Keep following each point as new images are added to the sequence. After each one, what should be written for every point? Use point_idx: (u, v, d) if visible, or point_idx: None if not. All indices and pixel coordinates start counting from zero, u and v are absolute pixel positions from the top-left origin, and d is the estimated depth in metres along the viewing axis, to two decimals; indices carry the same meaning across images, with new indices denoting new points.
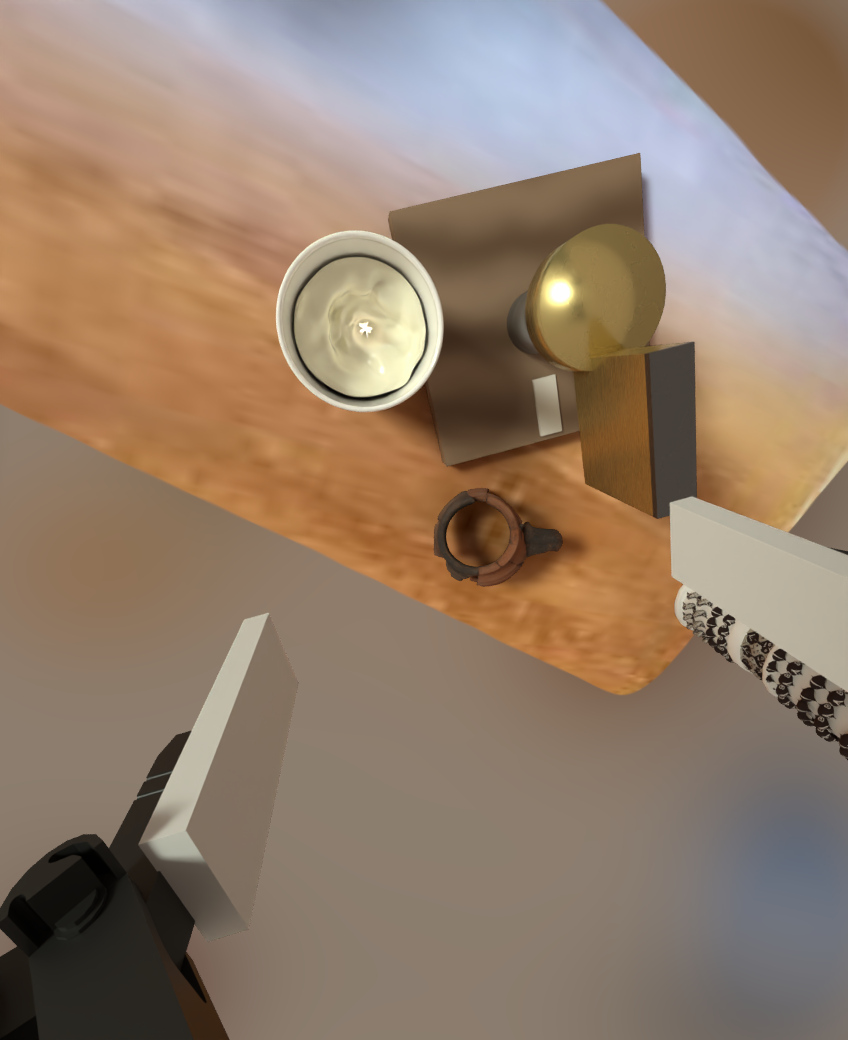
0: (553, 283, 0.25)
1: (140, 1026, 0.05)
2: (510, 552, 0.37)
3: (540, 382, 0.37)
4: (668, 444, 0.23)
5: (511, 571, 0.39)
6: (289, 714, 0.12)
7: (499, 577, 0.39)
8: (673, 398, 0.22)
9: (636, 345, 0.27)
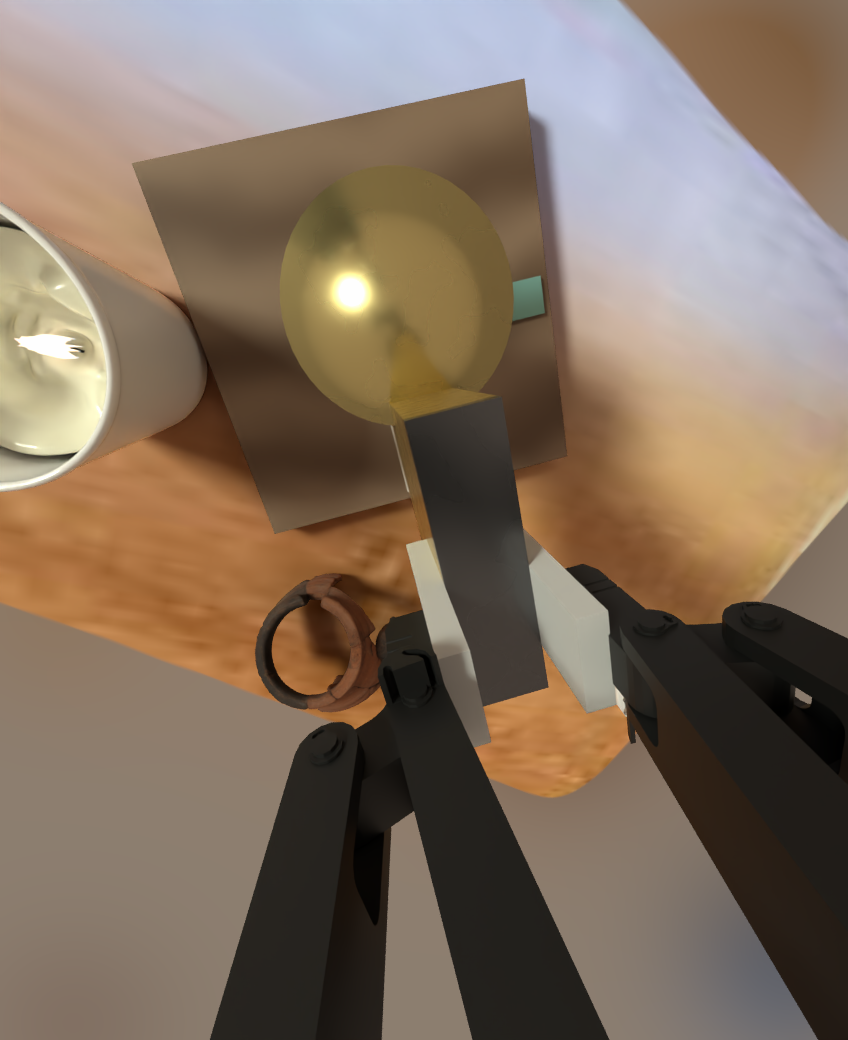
0: (300, 274, 0.14)
1: (464, 782, 0.07)
2: (349, 679, 0.26)
3: None
4: (476, 588, 0.12)
5: (361, 697, 0.28)
6: None
7: (345, 705, 0.28)
8: (473, 506, 0.11)
9: (470, 382, 0.16)
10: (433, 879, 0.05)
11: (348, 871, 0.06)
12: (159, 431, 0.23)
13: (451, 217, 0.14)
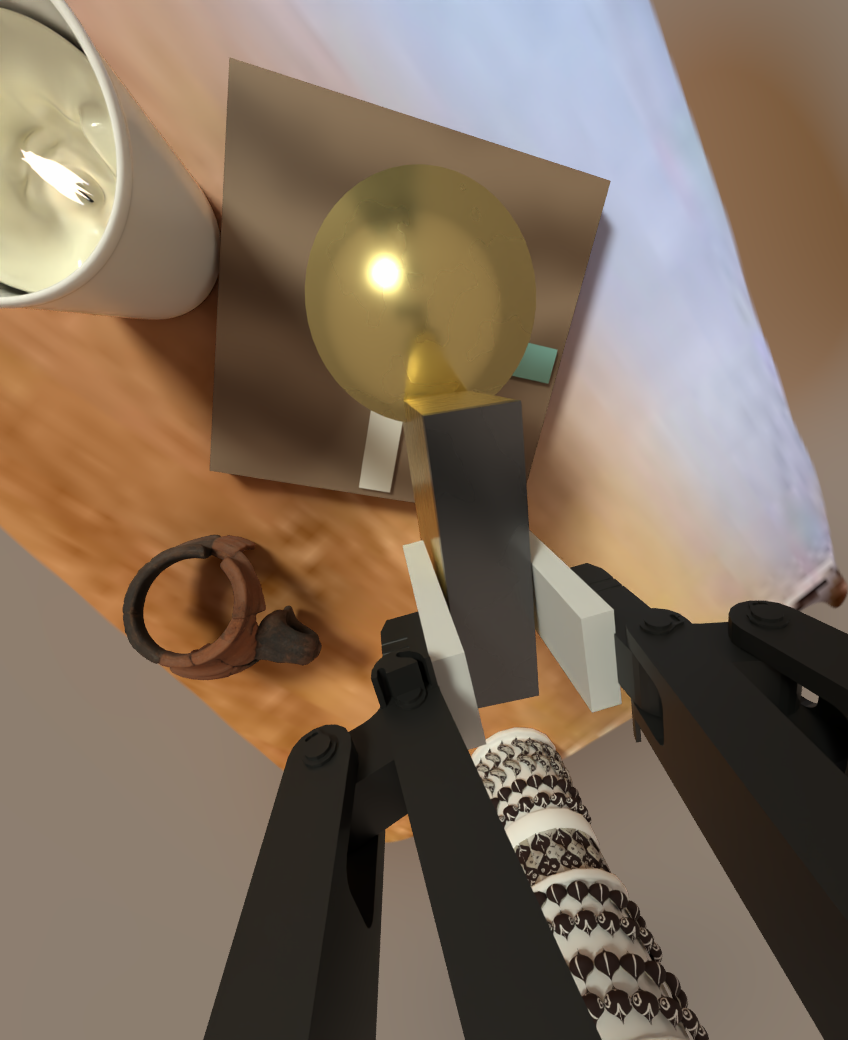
0: (327, 263, 0.14)
1: (457, 785, 0.07)
2: (215, 649, 0.24)
3: (380, 415, 0.26)
4: (477, 589, 0.12)
5: (220, 672, 0.26)
6: None
7: (200, 674, 0.26)
8: (482, 507, 0.11)
9: (485, 386, 0.16)
10: (427, 883, 0.05)
11: (341, 874, 0.06)
12: (136, 317, 0.22)
13: (482, 222, 0.14)
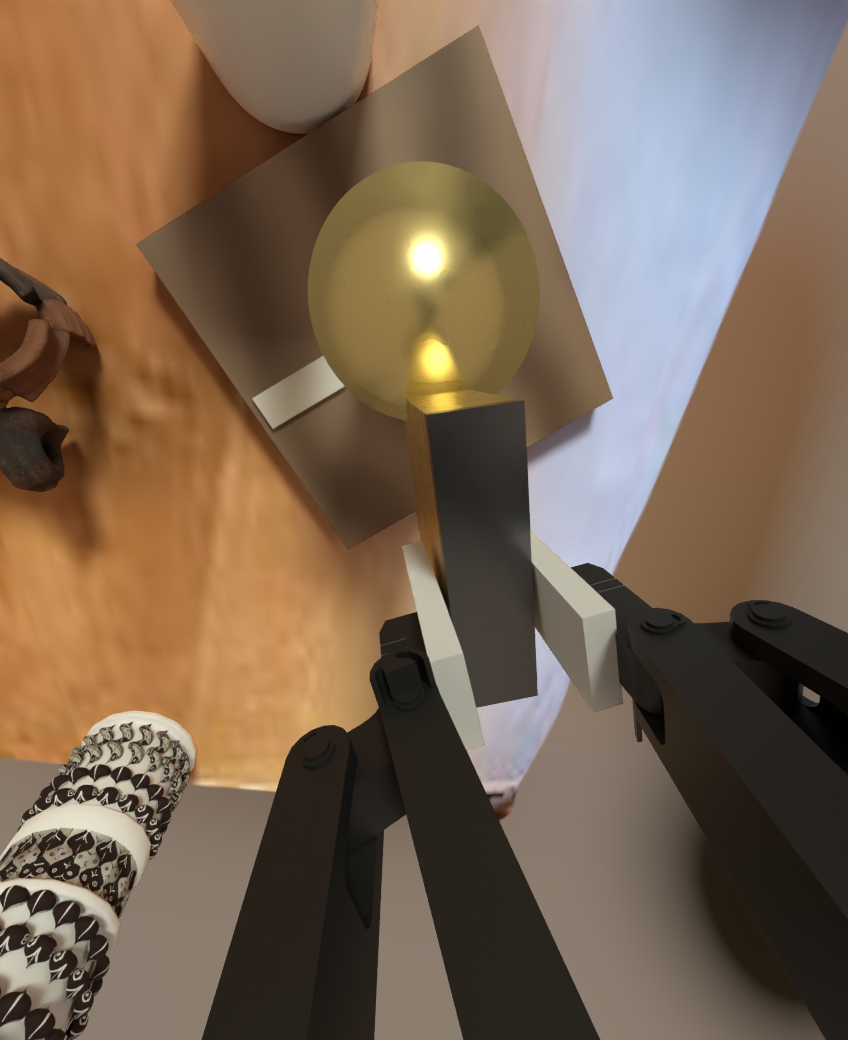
0: (331, 260, 0.14)
1: (456, 785, 0.07)
2: None
3: (326, 366, 0.25)
4: (477, 589, 0.12)
5: None
6: None
7: None
8: (483, 507, 0.11)
9: (487, 386, 0.16)
10: (425, 883, 0.05)
11: (339, 875, 0.06)
12: (211, 62, 0.19)
13: (486, 220, 0.14)
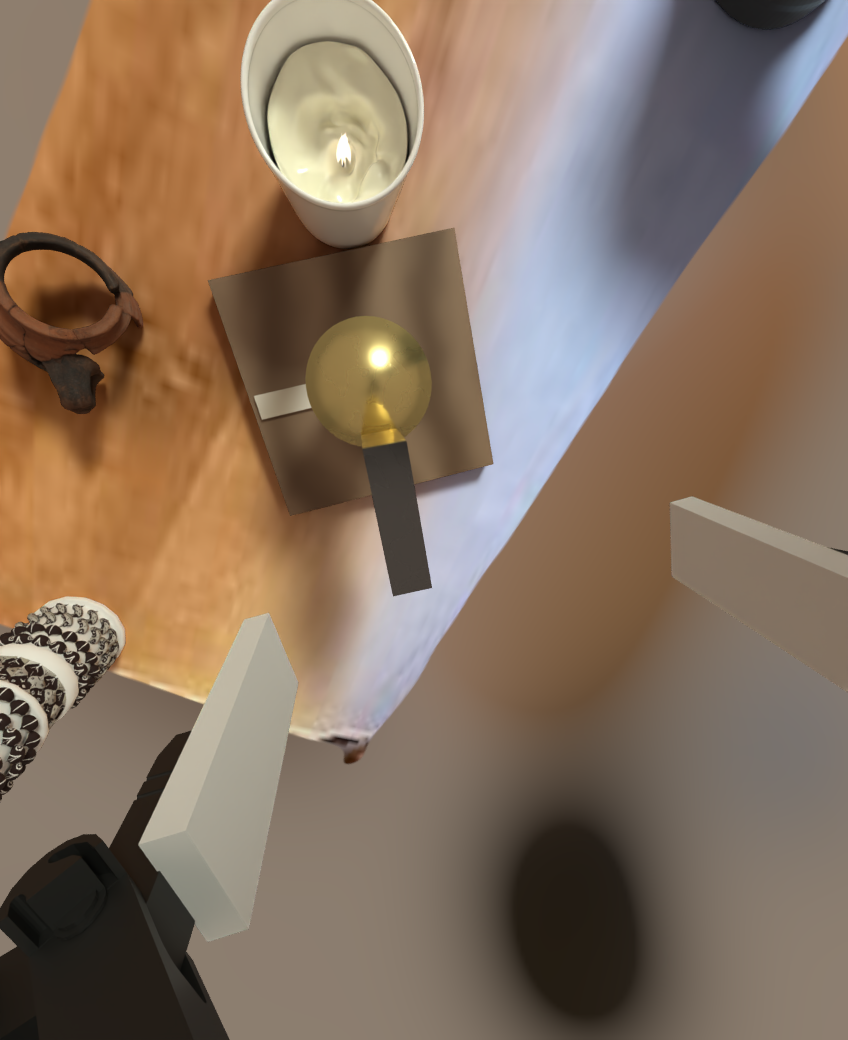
0: (317, 365, 0.27)
1: (140, 1026, 0.05)
2: (35, 325, 0.29)
3: None
4: (394, 530, 0.24)
5: (10, 337, 0.29)
6: (289, 714, 0.12)
7: None
8: (393, 490, 0.24)
9: (407, 426, 0.28)
10: None
11: None
12: None
13: (398, 341, 0.27)
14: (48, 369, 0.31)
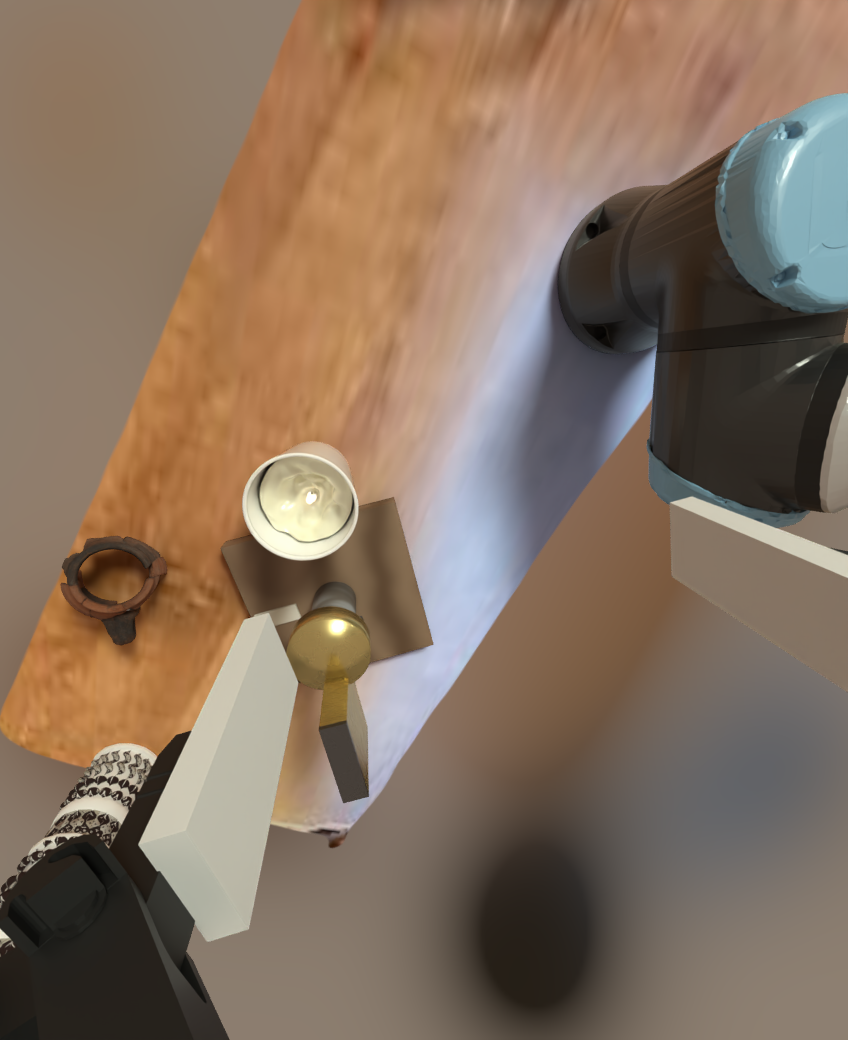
0: (293, 649, 0.41)
1: (140, 1026, 0.05)
2: (98, 608, 0.43)
3: (294, 609, 0.51)
4: (341, 769, 0.39)
5: (81, 610, 0.44)
6: (289, 714, 0.12)
7: (72, 602, 0.43)
8: (339, 748, 0.38)
9: (355, 676, 0.42)
10: None
11: None
12: None
13: (346, 631, 0.41)
14: (105, 624, 0.45)
